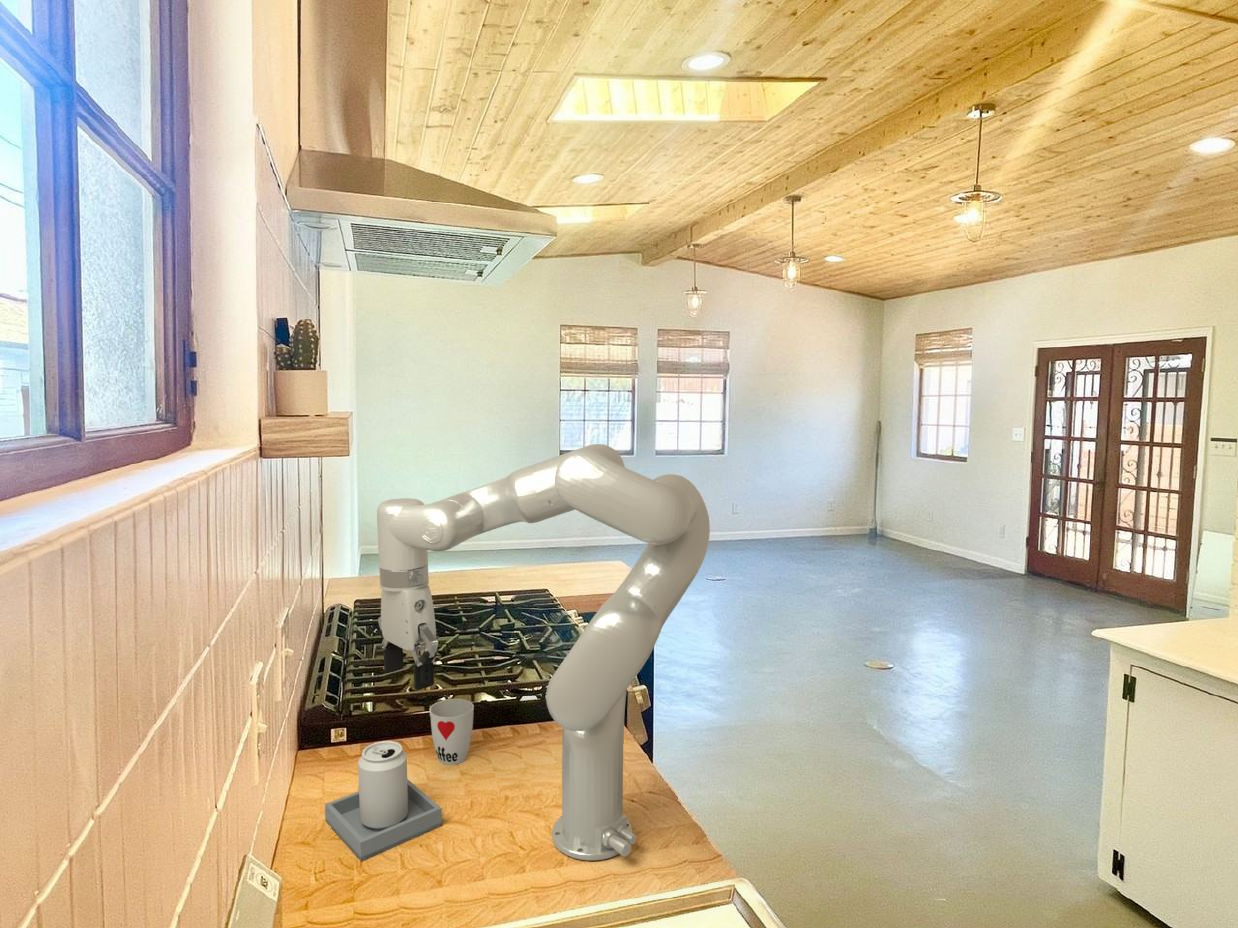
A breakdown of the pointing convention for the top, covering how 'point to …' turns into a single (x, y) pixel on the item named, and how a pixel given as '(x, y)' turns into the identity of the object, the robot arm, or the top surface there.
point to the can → (383, 785)
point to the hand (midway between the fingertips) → (408, 678)
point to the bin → (372, 842)
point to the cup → (451, 729)
